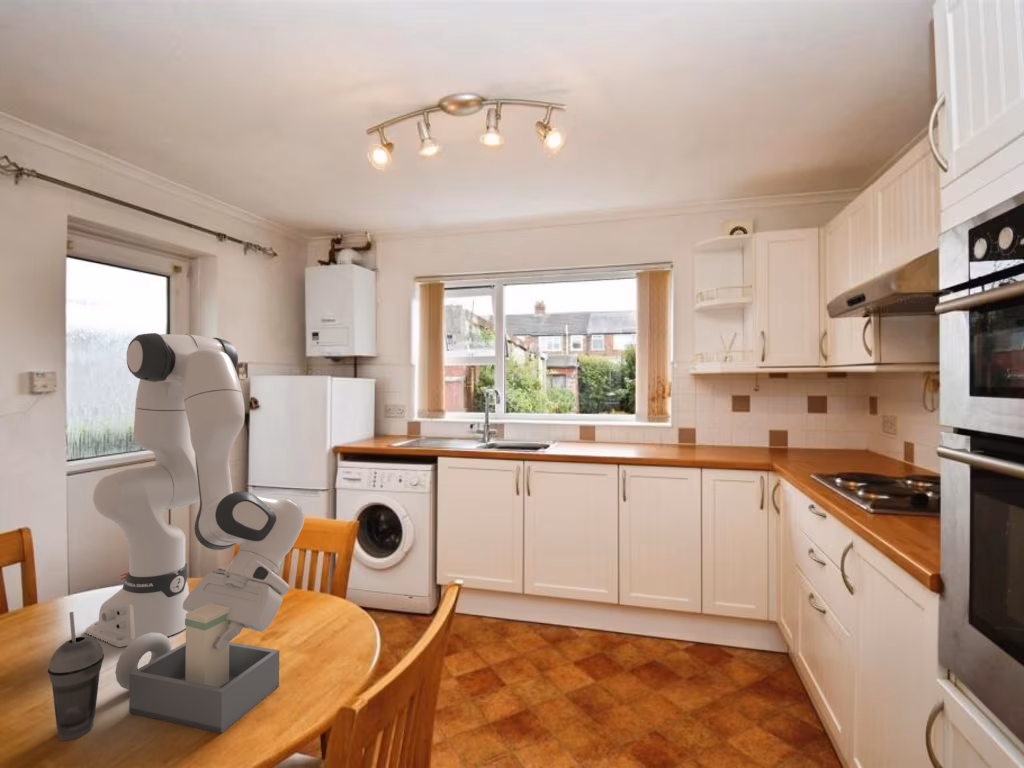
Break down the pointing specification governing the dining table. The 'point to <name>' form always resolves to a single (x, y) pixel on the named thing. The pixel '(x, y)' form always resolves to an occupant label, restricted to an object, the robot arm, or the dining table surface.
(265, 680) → the box
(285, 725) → the dining table surface
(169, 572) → the robot arm
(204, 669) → the juice carton
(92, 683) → the beverage cup
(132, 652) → the donut
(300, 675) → the dining table surface
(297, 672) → the dining table surface
